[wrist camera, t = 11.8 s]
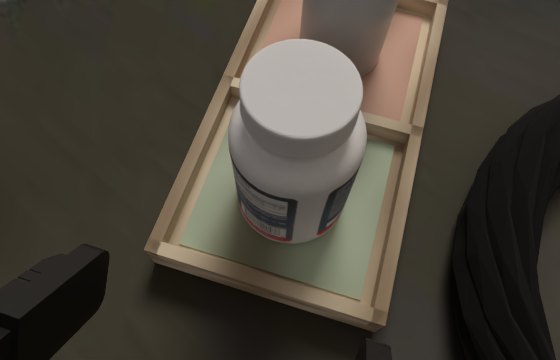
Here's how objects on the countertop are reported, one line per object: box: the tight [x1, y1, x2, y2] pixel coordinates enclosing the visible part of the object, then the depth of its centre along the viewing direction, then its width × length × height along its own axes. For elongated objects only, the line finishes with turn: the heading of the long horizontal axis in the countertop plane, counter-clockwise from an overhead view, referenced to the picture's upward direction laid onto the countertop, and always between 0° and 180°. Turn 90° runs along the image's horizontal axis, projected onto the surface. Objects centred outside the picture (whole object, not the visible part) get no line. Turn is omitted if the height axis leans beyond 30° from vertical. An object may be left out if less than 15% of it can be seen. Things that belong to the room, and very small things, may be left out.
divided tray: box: [144, 0, 448, 332], centre depth 24 cm, size 11×20×2 cm, turn 163°
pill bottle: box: [228, 39, 367, 244], centre depth 18 cm, size 5×5×9 cm
